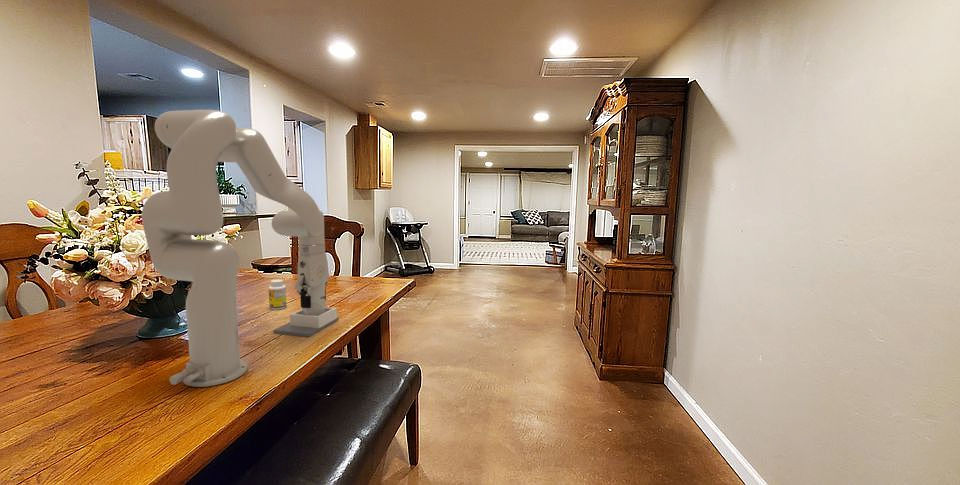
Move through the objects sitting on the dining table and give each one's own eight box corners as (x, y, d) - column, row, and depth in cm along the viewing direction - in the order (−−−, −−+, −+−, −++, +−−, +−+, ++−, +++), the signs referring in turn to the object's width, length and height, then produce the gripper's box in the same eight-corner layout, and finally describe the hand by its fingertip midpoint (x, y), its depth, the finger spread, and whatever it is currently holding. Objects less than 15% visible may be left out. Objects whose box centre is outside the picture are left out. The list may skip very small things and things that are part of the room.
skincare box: (306, 317, 122) (305, 279, 121) (301, 314, 125) (300, 277, 124) (326, 313, 126) (325, 277, 125) (320, 310, 130) (319, 274, 128)
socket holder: (308, 337, 116) (308, 322, 115) (273, 333, 118) (272, 318, 117) (338, 320, 131) (338, 307, 131) (306, 316, 134) (306, 304, 133)
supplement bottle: (269, 306, 144) (268, 279, 142) (286, 305, 146) (285, 278, 145) (269, 311, 139) (268, 282, 137) (286, 309, 141) (285, 281, 140)
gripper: (305, 254, 114) (307, 313, 116) (338, 246, 131) (339, 298, 133) (282, 253, 115) (284, 311, 118) (317, 245, 132) (319, 296, 135)
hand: (313, 303), depth 125 cm, fingers closed on skincare box, 7 cm apart
